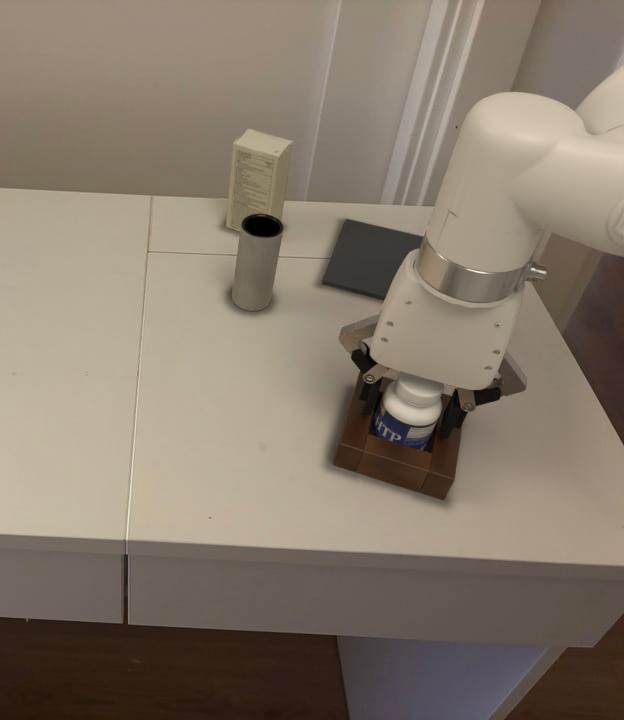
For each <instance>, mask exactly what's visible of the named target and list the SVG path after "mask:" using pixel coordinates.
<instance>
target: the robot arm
mask: <svg viewBox="0 0 624 720" xmlns="http://www.w3.org/2000/svg"><path fill="white" fill-rule="evenodd" d="M544 231H547V232H550V233H551V234H555V235H557V236H560V237H563V238H565V239H568V240H571V241H573V242H575V243H577V244H580V245H583V246H586V247H589V248H591V249H594V250H597V251H599V252H602V253H606V254H610V255H613V256H615V257H617V256H618V257H623V258H624V63H623V64H622V65H621V66H620V67H618V68H617V69H616V70H615V71H613V72H612V73H611V74H609V76H607V77H606V78H605V79H604V80H602V81H601V82H600V83H599V84H598V85H597V86H596V87H595V88H594V89H593V90H591V91H590V93H589V94H587V95H586V97H585V98H584V99H583V100H582V101H581V103H580V104H579V105H578V106H577V108H576V109H575V110H574V109H572V108H571V107H570V106H568V105H566V104H565V103H562V102H560V101H558V100H556V99H554V98H551V97H548V96H544V95H540V94H536V93H531V92H523V91H503V92H498V93H494V94H491V95H488V96H485V97H483V98H482V99H480V100H479V101H477V102H476V103H475V104H474V105H473V106H472V107H471V108H470V109H469V111H468V113H467V114H466V116H465V118H464V121H463V123H462V125H461V128H460V131H459V134H458V136H457V140H456V142H455V145H454V148H453V150H452V153H451V156H450V160H449V161H448V165H447V168H446V171H445V174H444V177H443V180H442V181H441V185H440V188H439V192H438V195H437V196H436V200H435V203H434V206H433V208H432V212H431V214H430V217H429V221H428V223H427V227H426V229H425V232H424V235H423V240H422V243H421V246H420V249H415V250H413V251H411V252H410V253H409V254H408V255H407V256H406V258H405V259H404V261H403V262H402V264H401V266H400V268H399V269H398V271H397V273H396V275H395V277H394V279H393V281H392V283H391V286H390V288H389V290H388V293H387V295H386V298H385V300H383V303H382V305H381V308H380V311H379V313H377V314H374V315H371V316H369V317H366V318H364V319H361V320H358V321H355V322H353V323H349V324H347V325H343V326H342V327H341V328H340V331H339V334H338V337H337V340H338V341H339V343H340V344H341V346H342V347H343V348H344V350H345V351H346V353H349V355H350V359H351V361H352V363H353V364H354V365H355V366H356V368H357V369H358V370H359V372H360V371H361V372H362V374H363V380H364V383H363V386H362V390H361V393H360V396H359V400H363V401H366V403H365V406H364V410H363V414H364V415H367V416H368V414H369V415H371V412H372V409H373V407H374V404H375V401H376V398H377V395H378V393H379V390H380V386H381V382H382V378H383V377H385V375H387V374H388V373H389V372H390V371H391V370H395V371H399V372H400V371H401V372H405V373H408V374H412V375H415V376H419V377H422V378H426V379H429V380H433V381H437V382H440V383H444V385H448V386H451V387H456V388H454V390H453V392H452V394H451V395H450V396H451V398H450V401H449V403H448V405H447V407H446V409H445V411H444V414H443V418H442V424H441V430H440V436H442V438H444V439H448V438H449V436H450V434H451V432H452V429H453V427H454V428H458V429H460V428H461V426H462V427H463V423H464V422H465V420H466V417H467V416H468V414H469V413H472V412H474V411H475V410H476V409H477V407H479V406H483V405H486V404H489V403H494V402H497V401H499V400H500V399H501V398H502V397H510V396H512V395H516V394H520V393H523V392H525V391H526V390H527V386H528V376H527V375H526V373H525V372H524V371H523V370H522V368H521V367H520V365H519V364H518V363H517V361H516V360H515V358H514V357H513V356H512V354H511V353H510V352H509V350H508V347H509V344H510V341H511V338H512V336H513V333H514V330H515V326H516V323H517V320H518V317H519V314H520V309H521V306H522V302H523V298H524V294H525V286H526V283H525V282H528V283H529V282H530V283H531V282H532V281H533V282H536V283H543V281H544V280H545V278H546V276H547V274H548V269H549V265H547V264H544V263H540V262H539V261H538V260H535V259H534V255H533V253H534V251H535V250H536V247H537V246H538V244H539V241H540V239H541V237H542V236H543V233H544ZM369 338H372V339H371V343H370V346H369V345H368V344H367V342H364V341H363V340H367V339H369ZM497 374H499V377H498V378H496V376H497Z"/></svg>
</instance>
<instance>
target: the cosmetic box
mask: <svg viewBox="0 0 624 720" xmlns="http://www.w3.org/2000/svg"><path fill="white" fill-rule="evenodd" d="M293 145H294V141H293V140H292V139H291V140H290V139H287V138H283V137H280V136H276V135H274V134H270V133H267V132H266V133H265V132H263V131H260V130H259V131H258V130H254V129H251V128H247V129H246V130H245V131H243V133H242V134H240V135H239V136H238V137H237V138H236V139H235V140H234V141H232V150H231V163H230V172H229V173H230V175H229V187H228V199H227V209H226V222H225V223H226V224H225V227H226V228H228V229H230V230H233V231H236V232H239V233H240V229H241V222H242V220H243V219H244V218H245V217H247V216H249V215H252V214H268V215H271V216H274V217H276V218H277V219H279V220H280V221H281V222H282V220H283V214H284V207H285V199H286V193H287V185H288V180H289V173H290V167H291V166H290V165H291V159H292V151H293Z"/></svg>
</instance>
